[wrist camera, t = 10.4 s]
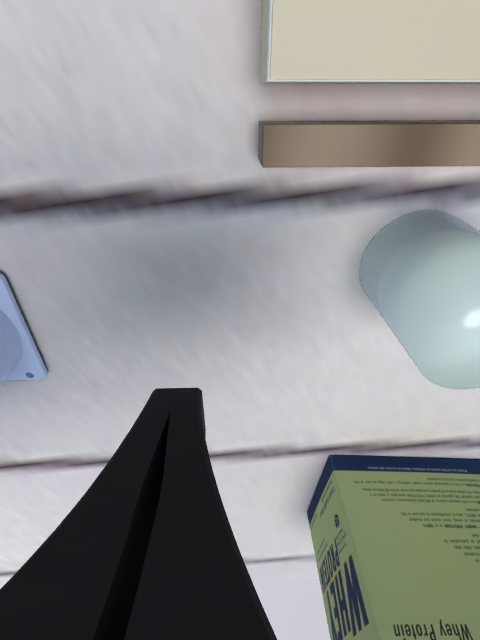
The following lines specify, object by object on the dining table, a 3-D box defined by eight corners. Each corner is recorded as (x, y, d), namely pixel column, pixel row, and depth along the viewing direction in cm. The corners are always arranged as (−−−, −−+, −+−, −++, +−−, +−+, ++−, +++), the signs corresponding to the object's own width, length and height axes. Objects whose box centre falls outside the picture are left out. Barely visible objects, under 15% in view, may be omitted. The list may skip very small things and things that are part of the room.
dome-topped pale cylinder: (350, 307, 21) (397, 390, 15) (371, 210, 17) (444, 267, 11) (445, 306, 21) (529, 387, 15) (484, 209, 17) (613, 265, 12)
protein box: (325, 453, 29) (402, 737, 16) (492, 457, 30) (689, 726, 17) (303, 512, 35) (347, 755, 22) (444, 514, 36) (564, 747, 23)
